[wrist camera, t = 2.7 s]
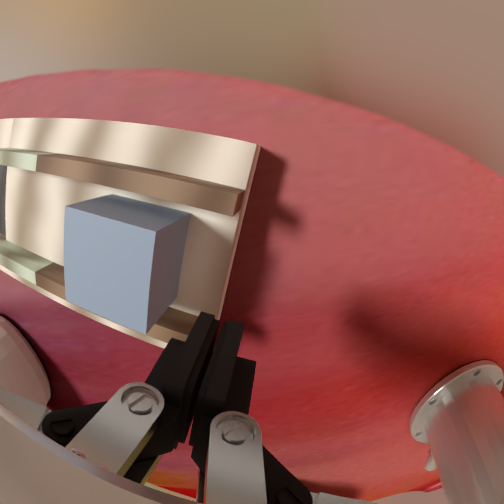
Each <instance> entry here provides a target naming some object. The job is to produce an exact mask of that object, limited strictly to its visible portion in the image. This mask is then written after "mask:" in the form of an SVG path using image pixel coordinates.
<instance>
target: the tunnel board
mask: <svg viewBox="0 0 504 504" xmlns="http://www.w3.org/2000/svg"><path fill="white" fill-rule="evenodd" d="M260 149H261V146H259V145H257V144H254V143H249V142H245V141H240V140H236V139H231V138H226V137H221V136H216V135H210V134H205V133H199V132H194V131H188V130H181V129H175V128H168V127H161V126H154V125H146V124H137V123H128V122H117V121H105V120H91V119H71V118H12V119H0V270H2V271H4V272H5V273H7V274H8V275H10V276H12V277H13V278H15V279H17V280H18V281H20V282H22V283H24V284H25V285H27V286H29V287H31V288H32V289H34V290H36V291H38V292H40V293H41V294H43V295H45V296H47V297H49V298H51V299H53V300H55V301H56V302H58V303H60V304H62V305H64V306H66V307H68V308H70V309H72V310H74V311H76V312H79V313H81V314H83V315H85V316H87V317H89V318H91V319H93V320H96V321H98V322H100V323H102V324H105V325H107V326H109V327H111V328H114V329H116V330H119V331H121V332H123V333H126V334H128V335H131V336H133V337H136V338H138V339H141V340H143V341H146V342H148V343H151V344H154V345H156V346H159V347H162V348H165V347H166V345H167V344H168V342H169V341H170V339H171V338H175V339H178V340H181V341H184V342H185V341H186V339H187V337H188V335H189V333H190V331H191V329H192V327H193V325H194V324H195V322H196V320H197V318H198V316H199V314H200V312H201V311H202V312H206V313H209V314H213V315H215V319H216V320H220V317H221V312H222V308H223V303H224V299H225V295H226V290H227V286H228V282H229V277H230V273H231V269H232V264H233V260H234V256H235V252H236V247H237V243H238V239H239V235H240V230H241V226H242V222H243V218H244V214H245V210H246V205H247V201H248V197H249V193H250V189H251V185H252V181H253V177H254V173H255V169H256V165H257V161H258V157H259V153H260ZM110 194H115V195H119V196H123V197H127V198H132V199H136V200H140V201H144V202H148V203H152V204H156V205H160V206H164V207H168V208H172V209H176V210H180V211H184V212H188V213H191V214H190V220H189V225H188V231H187V236H186V242H185V248H184V254H183V260H182V266H181V273H180V279H179V286H178V293H177V297H176V299H175V300H174V301H173V302H172V303H171V305H170V306H169V307H168V308H167V310H166V311H165V312H164V313H163V314H162V316H161V317H160V318H159V319H158V321H157V322H156V323H155V324H154V326H153V327H152V328H151V329H150V331H149V332H148V333H147V334H146V335H145V334H143V333H140V332H138V331H135V330H133V329H130V328H128V327H125V326H123V325H120V324H118V323H115V322H113V321H111V320H108V319H106V318H104V317H101V316H99V315H97V314H95V313H92V312H90V311H88V310H86V309H84V308H82V307H79V306H77V305H75V304H73V303H71V302H69V301H67V300H66V296H65V280H64V215H65V206H67V205H70V204H74V203H78V202H82V201H85V200H89V199H93V198H97V197H101V196H106V195H110Z"/></svg>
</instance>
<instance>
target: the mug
mask: <svg viewBox="0 0 504 504" xmlns="http://www.w3.org/2000/svg"><path fill="white" fill-rule="evenodd" d="M0 388H2V389H6V390H8V391H10V392H12V393H15V394H17V395H19V396H21V397H24V398H26V399H28V400H31V401H33V402H36V403H38V404H41V405H44V406H46V407H47V403H48V401H49V399H50V397H51V394H50V385H49V381H48V377H47V374H46V372H45V370H44V368H43V365H42V363H41V362H40V360H39V358H38V357H37V355H36V353H35V351H34V350H33V349H32V347H31V346H30V344H29V343H28V341H27V340H26V339H25V338H24V336H23V335H22V334H21V333H20V332H19V330H18V329H17V328H16V327H15V326H14V325H13V324H12V323H11V322H9V321H8V320H7V319H5V318H4V317H2V316H0ZM47 408H48V407H47ZM48 410H50V409H49V408H48Z"/></svg>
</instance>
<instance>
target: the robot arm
mask: <svg viewBox="0 0 504 504" xmlns="http://www.w3.org/2000/svg"><path fill="white" fill-rule="evenodd" d="M219 322H220V320H216V319H215V315H213V314H209V313H206V312H202V311H201V312H200V314H199V316H198V318H197V320H196V322H195V324H194V325H193V327H192V329H191V331H190V333H189V335H188V337H187V339H186V341H185V342H184V341H181V340H178V339H175V338H171V339H170V341H169V342H168V344H167V345H166V347H165V349H164V351H163V352H162V354H161V356H160V357H159V359H158V361H157V362H156V364H155V366H154V368H153V369H152V371H151V373H150V374H149V376H148V378H147V380H146V381H145V383H139V382H137V383H130V384H127V385H124V386H123V387H122V388H120V389H119V390H118V391H117V392H116V394H115V395H114V396H113V397H112V398H111V399H110V400H109V401H106V402H101V403H95V404H90V405H84V406H78V407H71V408H65V409H58V410H54V411H50V410H48V408H47V407H46V406H44V405H41V404H38V403H36V402H33V401H31V400H28V399H26V398H24V397H21V396H19V395H17V394H15V393H12V392H10V391H8V390H6V389H2V388H0V504H376V503H373V502H370V501H364V500H358V499H352V498H346V497H341V496H337V495H332V494H327V493H323V492H319V493H318V494H317V493H313V492H310V491H309V490H308V489H307V488H306V487H305V486H304V485H303V484H302V483H301V482H300V481H299V480H298V479H297V478H296V477H294V476H293V475H292V474H291V473H290V472H289V471H288V470H287V469H286V468H285V467H284V466H283V465H282V464H281V463H280V462H279V461H278V460H277V459H276V458H275V457H274V456H273V455H272V454H271V453H270V452H269V451H268V450H267V449H266V448H265V447H264V446H263V445H262V438H261V430H260V427H259V425H258V424H257V422H256V421H255V420H254V419H253V418H252V417H250V416H249V415H248V413H249V406H250V400H251V394H252V387H253V381H254V374H255V367H256V361H253V360H248V359H244V358H241V357H237V353H238V349H239V345H240V341H241V336H242V332H243V328H244V324H245V323H242V322H238V321H234V320H230V323H227V322H224V323H223V326H222V329H221V331H220V334H219V337H218V340H217V342H216V345H215V340H216V336H217V331H218V327H219ZM214 345H215V348H214ZM213 349H214V351H213ZM503 382H504V375H503V371H502V370H501V368H500V367H499V366H498V364H496V363H495V362H493V361H490V360H481V361H477V362H473V363H470V364H468V365H465V366H463V367H461V368H459V369H457V370H456V371H454V372H452V373H451V374H449V375H448V376H446V377H445V378H444V379H442V380H441V381H440V382H439V383H437V384H436V385H435V386H434V387H433V388H432V389H431V390H430V391H428V392H427V394H426V395H425V396H424V397H423V398H422V399H421V400H420V402H419V403H418V404H417V406H416V407H415V409H414V411H413V413H412V415H411V417H410V421H409V429H410V432H411V435H412V437H413V438H414V439H415V440H417V441H418V442H422V443H429V445H430V448H431V451H430V456H429V457H428V459H427V460H426V462H425V464H424V468H425V469H426V470H428V471H433V470H434V469H436V467H437V470H438V473H439V476H440V480H441V483H442V486H443V490H444V493H445V497H446V501H447V504H504V397H503V396H502V394H501V393H500V392H501V390H502V386H503ZM193 417H194V418H193ZM192 420H193V424H192V429H191V435H190V440H189V445H191V446H193V450H192V455H191V458H192V459H193V460H194V462H195V463H196V464H197V466H198V467H199V471H198V483H197V497H196V502H194V501H190V500H187V499H183V498H179V497H176V496H173V495H170V494H167V493H164V492H160V491H158V490H155V489H152V488H149V487H147V486H144V484H145V483H146V481H147V479H148V478H149V476H150V475H151V473H152V472H153V470H154V469H155V467H156V465H157V464H158V462H159V461H160V459H161V457H162V454H165V453H168V452H171V451H172V450H173V448H174V449H176V448H177V445H178V442H181V443H184V442H185V440H186V437H187V434H188V431H189V428H190V425H191V422H192Z"/></svg>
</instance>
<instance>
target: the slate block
mask: <svg viewBox="0 0 504 504" xmlns="http://www.w3.org/2000/svg"><path fill="white" fill-rule="evenodd" d="M190 214H191V213H188V212H184V211H180V210H176V209H172V208H168V207H164V206H160V205H156V204H152V203H148V202H144V201H140V200H136V199H132V198H127V197H123V196H119V195H115V194H110V195H106V196H101V197H97V198H93V199H89V200H85V201H82V202H78V203H74V204H70V205H67V206H65V215H64V280H65V296H66V300H67V301H69V302H71V303H73V304H75V305H77V306H79V307H82V308H84V309H86V310H88V311H90V312H92V313H95V314H97V315H99V316H101V317H104V318H106V319H108V320H111V321H113V322H115V323H118V324H120V325H123V326H125V327H128V328H130V329H133V330H135V331H138V332H140V333H143V334H145V335H146V334H147V333H148V332H149V331H150V329H151V328H152V327H153V326H154V324H155V323H156V322H157V321H158V319H159V318H160V317H161V316H162V314H163V313H164V312H165V311H166V310H167V308H168V307H169V306H170V305H171V303H172V302H173V301H174V300H175V299H176V297H177V293H178V286H179V279H180V273H181V266H182V260H183V254H184V248H185V242H186V236H187V231H188V225H189V220H190Z"/></svg>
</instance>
